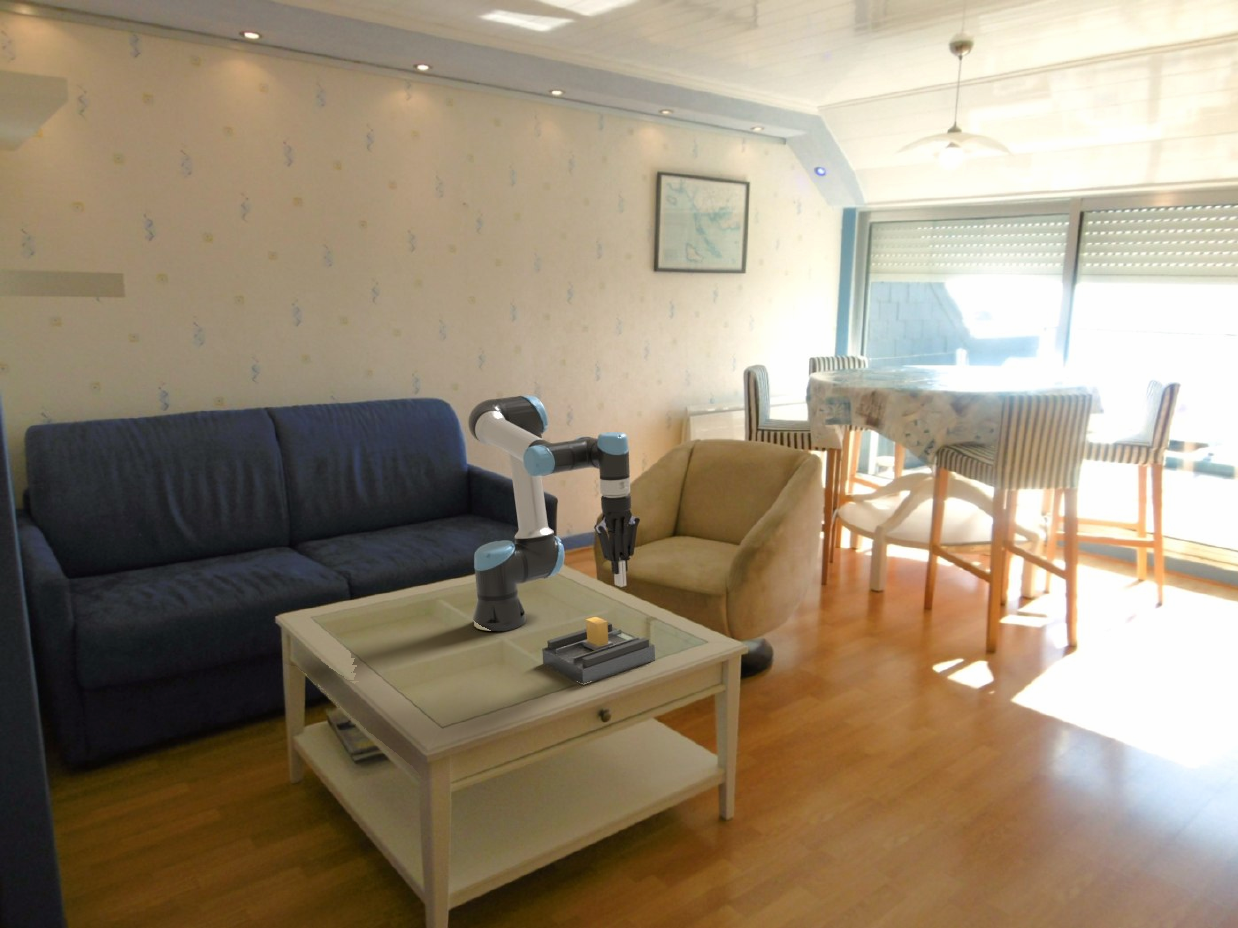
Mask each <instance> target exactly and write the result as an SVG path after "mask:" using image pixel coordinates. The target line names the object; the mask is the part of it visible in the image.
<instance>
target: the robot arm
mask: <svg viewBox="0 0 1238 928" xmlns="http://www.w3.org/2000/svg"><path fill="white" fill-rule="evenodd" d="M467 424H468V425H467V426H468V429H469V432H470V434H471V436H473V438H474V439H475V440H477V441H478V442H480V443H482V444H484V445H486V446H487V445H488V446H489V445H492V446H494V447H497V448H498V449H500V450H501V451H504V452H506V453H508V455H509V463H510V472H511V480H512V486H513V494H514V495H513V496H514V502H515V510H516V516H517V517H516V518H517V526H518V531H517V532H516V533H515V535H514V542H513V541H512V540H507V539H506V540H505V539H502V540H500V541H499V540H495V541H490V542H488V543H486V544H483V545H481V546H480V547H478V548H477V549H476V550H475V552H474V559H473V560H474V561H473V563H474V564H473V568H474V574H475V575H474V576H475V587H476V597H477V600H476V605H475V610H474V613H473V617H472V621H473V620H474V621H475V622H476V623H478V624H479V625H481V626H482V627H485V628H487V629H489V630H491V631H502V632H508V631H512V630H515V629H517V628H521V627H522V626H523V625H524V624H525V623H526V621H527V618H526V611H525V609H524V607H523V604H522V602H521V599H520V598H519V591H518V585H520V584H524V583H528V582H533V581H536V580H540V579H548V578H550V577H553V576H555V575H557V574H558V573H559V572H561V569H562V568H563V567H564V566H563V565H564V563H565V548H564V544H563V543H562V540H561V539H560V538H559V537H558V536H557V535H555V532H554V529H551V528H550V527H549V524H548V518H547V517H548V516H547V510H546V501H545V500H546V499H545V493H544V486H543V477H545V476H548V475H555V474H559V473H564V472H569V471H570V472H572V471H576V470H577V471H578V470H582V469H583V470H584V469H588V468H593V469H597V470H598V469H599V470H598V471H599V490H600V494H601V497H600V507H601V508H600V509H601V511H602V516H601V522H599V523H598V524H594V526H593V528H594V530H595V532H596V533H597V537H598V539H599V544H600V547H601V548H600V549H601V551H602V555H603V559H604V560H606V561H609V562H610V563H611V572H612V575H614V577H613V579H614V585H615V586H618V587H620V588H623V587H626V586H627V572H628V571H629V570H628V561H630V560H631V557H633V556H634V554H635V547H636V541H637V530H638V526H639V524H640V522H641V521H640V520H641V519H640V518H639V517H635V516H633V514H632V511H631V509H632V495H630V493H631V477H630V476H631V475H630V471H631V470H630V447H629V442H628V441H629V439H628V435H627V434H626V433H625V432H621V431H619V432H618V431H617V432H616V431H610V432H602V433H600V434H598V436H597V438H595V437H591V436H578V437H576V438H574V439H573V440H568V441H559V442H553V443H552V442H549V441H547V440H545V439H543V438H542V437H543V435H542V434H544V433H546V431H547V429H548V425H549V420H548V414H547V410H546V408H545V406H544V404H543V403H542V401H540V399H539V398H538V397H536V396H533V395H518V396H509V397H508V396H507V397H501V398H492V399H486V400H483V401H481V402H480V403H478V404H477V405H475V406H474V408H473V409H472V410H471V412H470V414H469V417H468V420H467Z"/></svg>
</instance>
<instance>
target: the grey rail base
mask: <svg viewBox="0 0 1238 928" xmlns="http://www.w3.org/2000/svg"><path fill="white" fill-rule="evenodd" d="M639 639H640V636H634V635H632V634H629V633H627V632H625V631H622V629H621V628H615V627H613V626H612V631H609V632H608V641H610V642H613V645H610V646H607V647H604V648H601V649H598V650H595V651H594V650H592V649H590V648H588V647H586V646H584V645H583V641H586V640H587V639H583V640H580V641H577V642H574V643H571V644H567V645H564V646H561V647H558V648H555V649H550V648H548V646H546V647H544V648H541V651H542V663H543V665H545V666H547V665H548V666H549V667H548V666H547V667H548V668H550V667H551V668H550V669H552V670H554V671H556V672H558V673H560V674H561V675H563V674H564V675H563V676H565V677H567V678H569V679H571V680H573V681H575V682H576V681H578V682H580V683H583V684H584V683H587V682H590V681H594V682H597V681H599V680H603V679H605V678H608V677H610V676H614V675H617V674H619V673H622V672H625V671H629V670H631V669H634V668H637V667H639V666H643V665H645V664H648V663H651V662H654V661H655V660H656V652H655V651H656V650H655V644H653V643H651V642H649V647H646V648H643V649H640V650H637V651H634V652H631V653H628V654H625V655H622V656H619V657H616V658H613V659H610V660H607V661H604V662H601V663H598V664H595V665H592V666H589V667H585V666H583V664H582V658H584V657H587V656H590V655H593V654H596V653H599V652H602V651H605V650H608V649H611V648H614V647H617V646H620V645H623V644H626V643H629V642H632V641H636V640H639ZM596 680H597V681H596ZM578 682H577V683H578ZM580 683H579V684H580Z"/></svg>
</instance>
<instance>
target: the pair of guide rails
mask: <svg viewBox="0 0 1238 928" xmlns="http://www.w3.org/2000/svg"><path fill="white" fill-rule="evenodd" d="M607 626H608V632H609V631H612V627H613V624H612V623H611V622H608V621H607ZM583 639H587V628H585V629H582V630H577V631H575V632H571V633H569V634H568V633H567V634H565V635H562V636H558V637H555V638H553V639H549V640H546V641H547V647H548V648H550V649H555V648H558V647H561V646H564V645H567V644H571V643H574V642H577V641H580V640H583ZM649 643H650V639H648V638H646V637H641V638H639V640H636V641H632V642H629V643H626V644H623V645H620V646H617V647H614V648H611V649H608V650H605V651H602V652H599V653H596V654H593V655H590V656H587V657H584V658H582V664H583V666H585V667H589V666H592V665H595V664H598V663H601V662H604V661H607V660H610V659H613V658H616V657H619V656H622V655H625V654H628V653H631V652H634V651H637V650H640V649H643V648H646V647H649Z"/></svg>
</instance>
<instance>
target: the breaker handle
mask: <svg viewBox="0 0 1238 928" xmlns="http://www.w3.org/2000/svg"><path fill="white" fill-rule="evenodd" d="M585 622H586V623H585V625H586V628H585V629H587V640H586V641H583V645H584V646H586V647H588V648H590V649H592V650H594V651H595V650H598V649H601V648H604V647H607V646H610V645H613V642H610V641H608V626H607V622H608V621H607V620H605V619H603V618H601V617H598V616H594V617H590V618H586V619H585Z"/></svg>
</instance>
